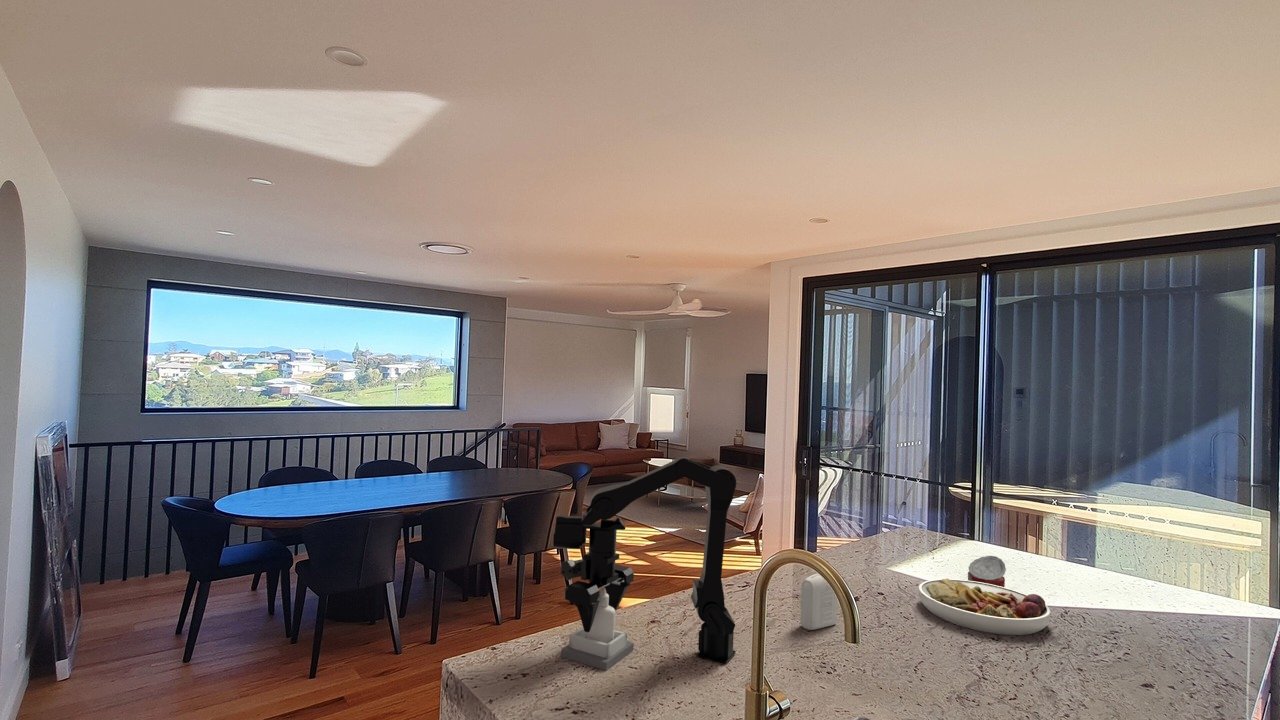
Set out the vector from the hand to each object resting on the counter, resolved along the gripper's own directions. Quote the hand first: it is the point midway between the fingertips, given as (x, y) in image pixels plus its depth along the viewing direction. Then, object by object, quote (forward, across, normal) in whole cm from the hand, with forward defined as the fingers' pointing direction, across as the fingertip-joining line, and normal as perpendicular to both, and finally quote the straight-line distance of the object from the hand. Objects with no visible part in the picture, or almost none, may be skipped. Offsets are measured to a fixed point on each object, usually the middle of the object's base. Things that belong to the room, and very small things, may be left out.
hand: (599, 624), depth 127 cm
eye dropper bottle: (+5, 0, 0) cm, 5 cm away
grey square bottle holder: (+6, 0, 0) cm, 6 cm away
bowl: (+7, -75, +72) cm, 104 cm away
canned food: (+6, -106, +73) cm, 129 cm away
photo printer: (+6, -43, +36) cm, 57 cm away
